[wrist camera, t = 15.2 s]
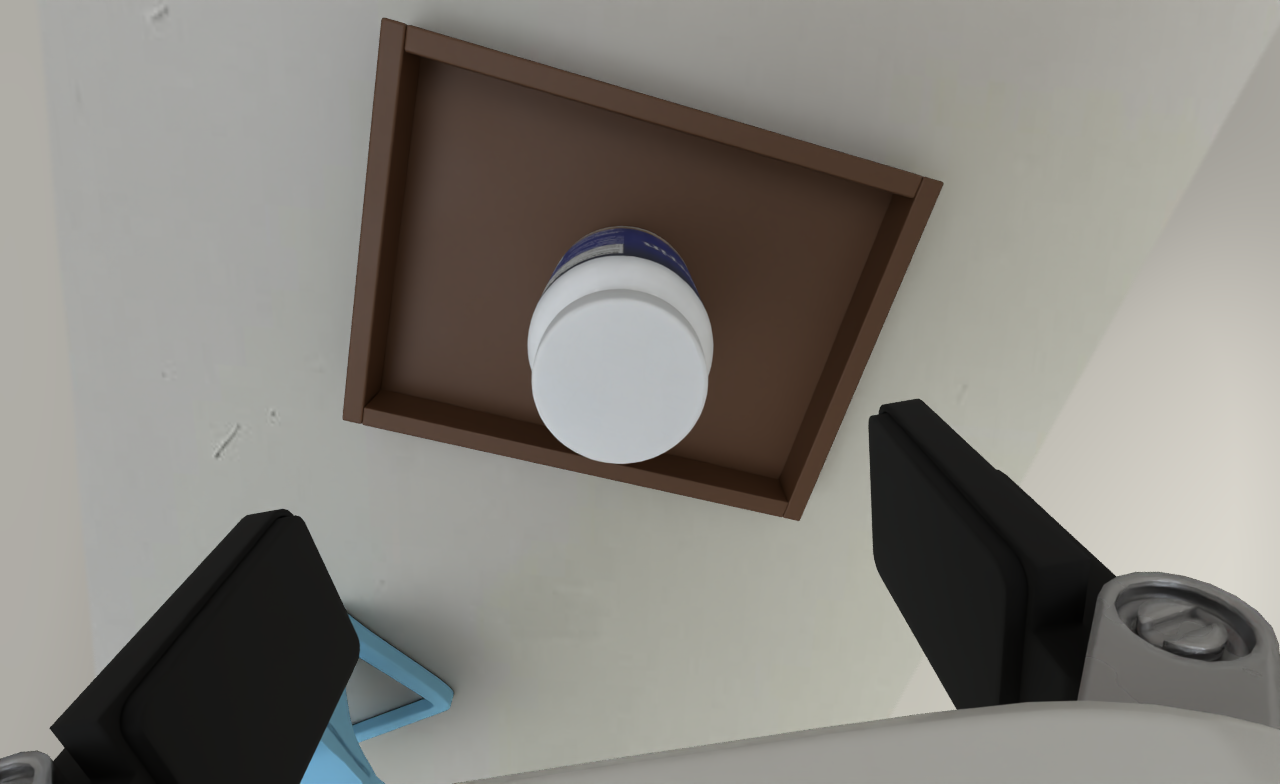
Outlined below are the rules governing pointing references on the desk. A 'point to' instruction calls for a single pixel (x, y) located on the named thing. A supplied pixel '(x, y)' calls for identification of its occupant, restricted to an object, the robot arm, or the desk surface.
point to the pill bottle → (620, 347)
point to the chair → (338, 764)
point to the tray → (596, 199)
